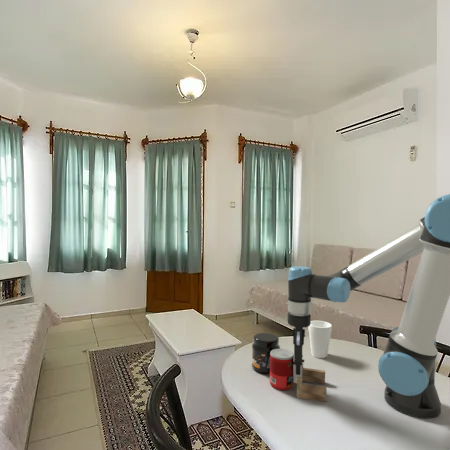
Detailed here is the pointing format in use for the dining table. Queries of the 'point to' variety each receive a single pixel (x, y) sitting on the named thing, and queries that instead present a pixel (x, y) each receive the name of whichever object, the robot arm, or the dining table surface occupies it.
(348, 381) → the dining table surface
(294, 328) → the robot arm
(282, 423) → the dining table surface
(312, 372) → the chute
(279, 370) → the canned food
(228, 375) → the dining table surface
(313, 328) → the foam cup
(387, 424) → the dining table surface
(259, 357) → the supplement container
